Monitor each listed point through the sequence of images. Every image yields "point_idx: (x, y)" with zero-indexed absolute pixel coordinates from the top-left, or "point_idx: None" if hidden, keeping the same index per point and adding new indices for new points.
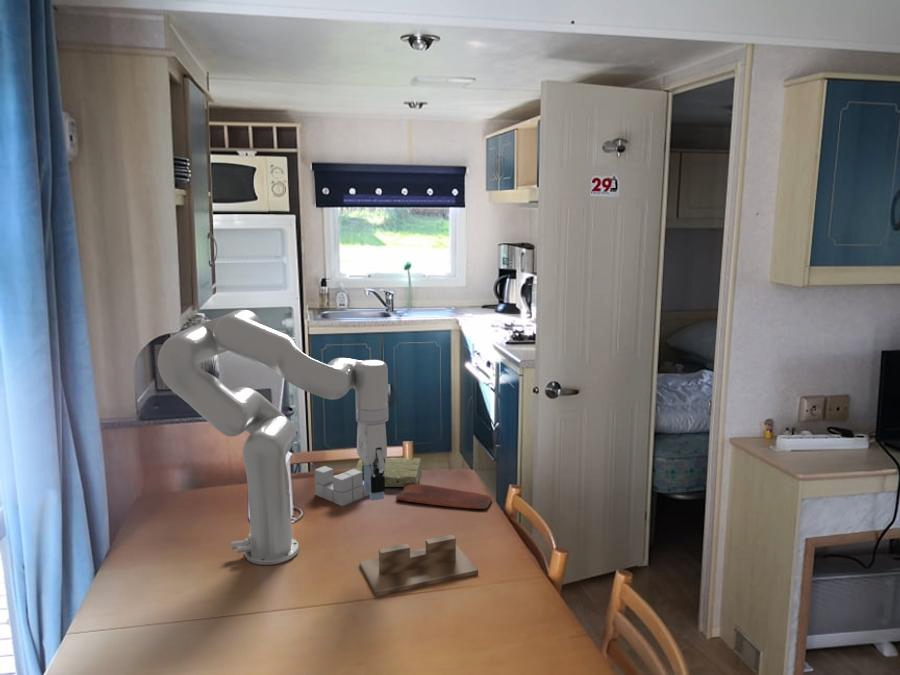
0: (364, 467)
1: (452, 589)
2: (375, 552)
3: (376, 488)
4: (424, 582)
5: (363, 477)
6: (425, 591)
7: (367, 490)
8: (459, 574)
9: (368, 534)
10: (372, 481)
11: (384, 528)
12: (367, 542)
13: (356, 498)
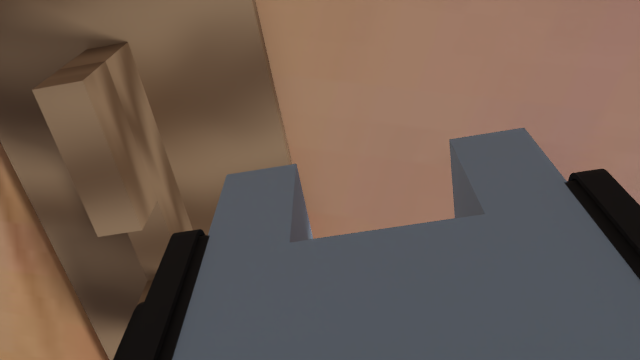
0: (608, 340)
1: (23, 284)
2: (360, 41)
3: (137, 317)
4: (37, 211)
5: (593, 201)
6: (4, 200)
7: (455, 165)
8: (93, 327)
9: (565, 25)
10: (137, 348)
11: (594, 112)
12: (478, 10)
13: None
